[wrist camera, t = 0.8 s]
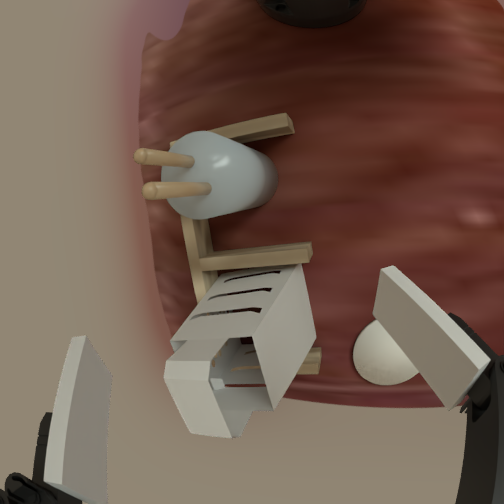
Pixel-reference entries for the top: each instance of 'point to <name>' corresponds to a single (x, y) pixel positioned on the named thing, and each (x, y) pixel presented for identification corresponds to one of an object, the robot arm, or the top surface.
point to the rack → (209, 261)
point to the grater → (240, 349)
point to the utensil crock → (209, 176)
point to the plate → (381, 357)
